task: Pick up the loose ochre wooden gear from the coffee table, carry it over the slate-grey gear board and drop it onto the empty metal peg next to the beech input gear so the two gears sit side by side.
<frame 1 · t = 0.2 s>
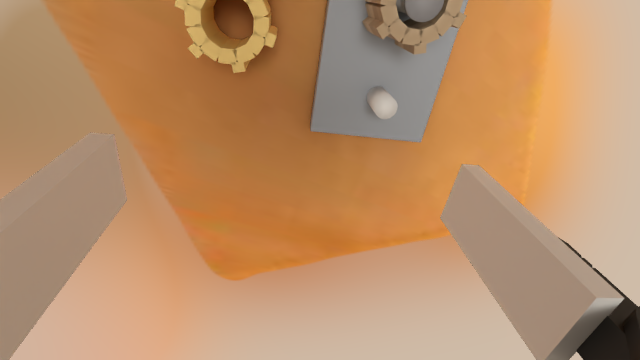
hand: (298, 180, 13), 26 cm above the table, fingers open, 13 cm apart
ochre gear: (236, 15, 33), on the table
gear board: (384, 48, 36), on the table
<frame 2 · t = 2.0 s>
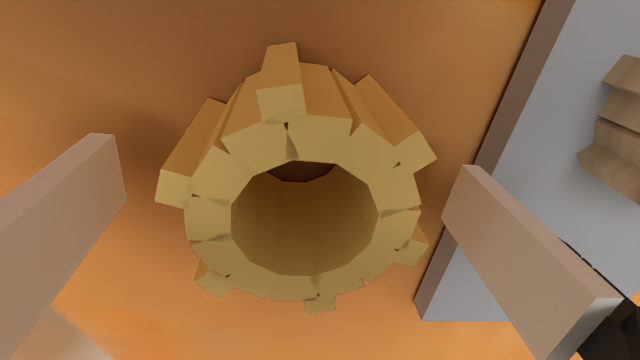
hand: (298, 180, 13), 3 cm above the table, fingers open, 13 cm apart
ochre gear: (298, 141, 15), on the table
gear board: (585, 184, 18), on the table
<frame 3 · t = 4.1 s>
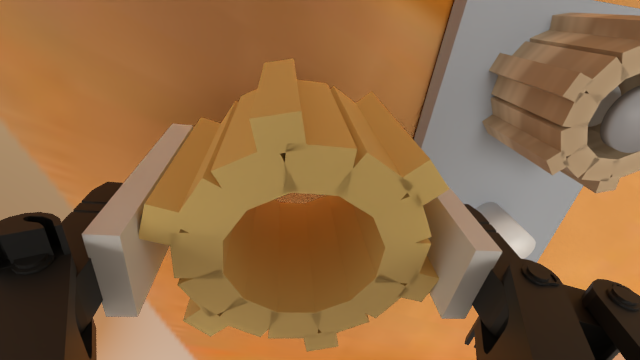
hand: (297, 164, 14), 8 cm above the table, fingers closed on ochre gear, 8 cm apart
ochre gear: (297, 161, 14), point 8 cm above the table, touching gripper
gear board: (500, 149, 24), on the table
input gear: (545, 87, 21), resting on gear board
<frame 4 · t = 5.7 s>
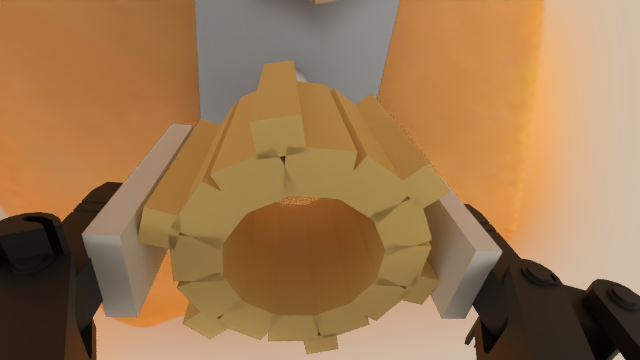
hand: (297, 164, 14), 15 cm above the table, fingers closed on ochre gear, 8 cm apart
ochre gear: (297, 163, 14), point 14 cm above the table, touching gripper
gear board: (298, 9, 24), on the table
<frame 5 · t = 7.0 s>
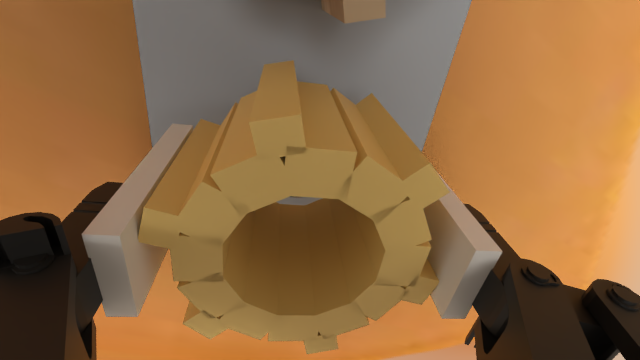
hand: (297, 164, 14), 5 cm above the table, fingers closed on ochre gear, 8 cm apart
ochre gear: (297, 163, 14), point 4 cm above the table, touching gripper
gear board: (304, 23, 15), on the table
when the fingers open (2 cm above the table, at t = 7.8 s): ochre gear stays where it is, resting on gear board.
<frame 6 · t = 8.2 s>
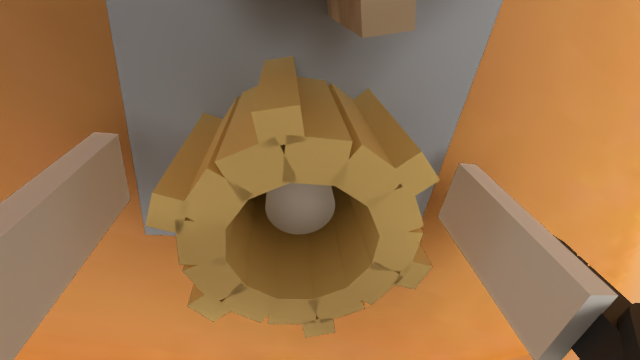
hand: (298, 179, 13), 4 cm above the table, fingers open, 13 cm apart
ochre gear: (296, 156, 15), point 1 cm above the table, touching gear board
gear board: (307, 31, 13), on the table
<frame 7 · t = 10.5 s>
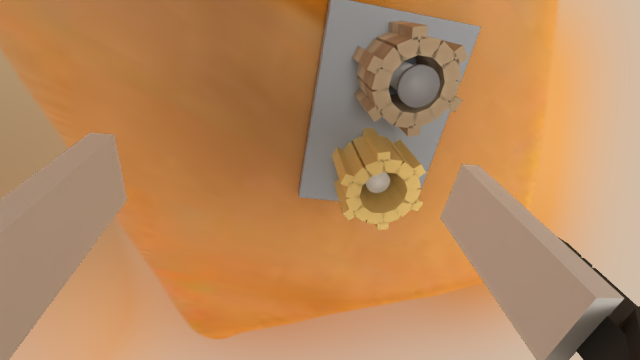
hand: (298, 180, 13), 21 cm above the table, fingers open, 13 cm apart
ochre gear: (368, 164, 35), point 1 cm above the table, touching gear board
gear board: (376, 116, 34), on the table
input gear: (393, 70, 31), resting on gear board
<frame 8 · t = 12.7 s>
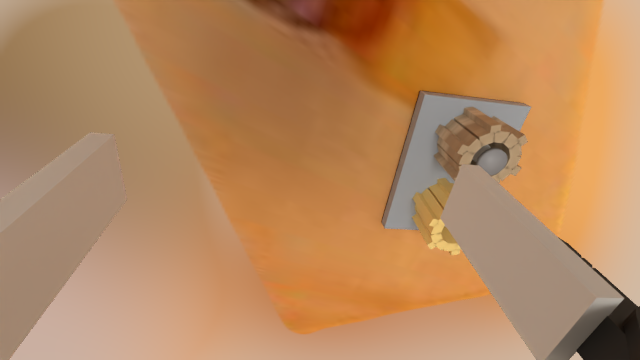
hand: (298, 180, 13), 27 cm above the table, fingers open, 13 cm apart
ochre gear: (439, 203, 46), point 1 cm above the table, touching gear board
gear board: (446, 167, 45), on the table
input gear: (464, 139, 41), resting on gear board
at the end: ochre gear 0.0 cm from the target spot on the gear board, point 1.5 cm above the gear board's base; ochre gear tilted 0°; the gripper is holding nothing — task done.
